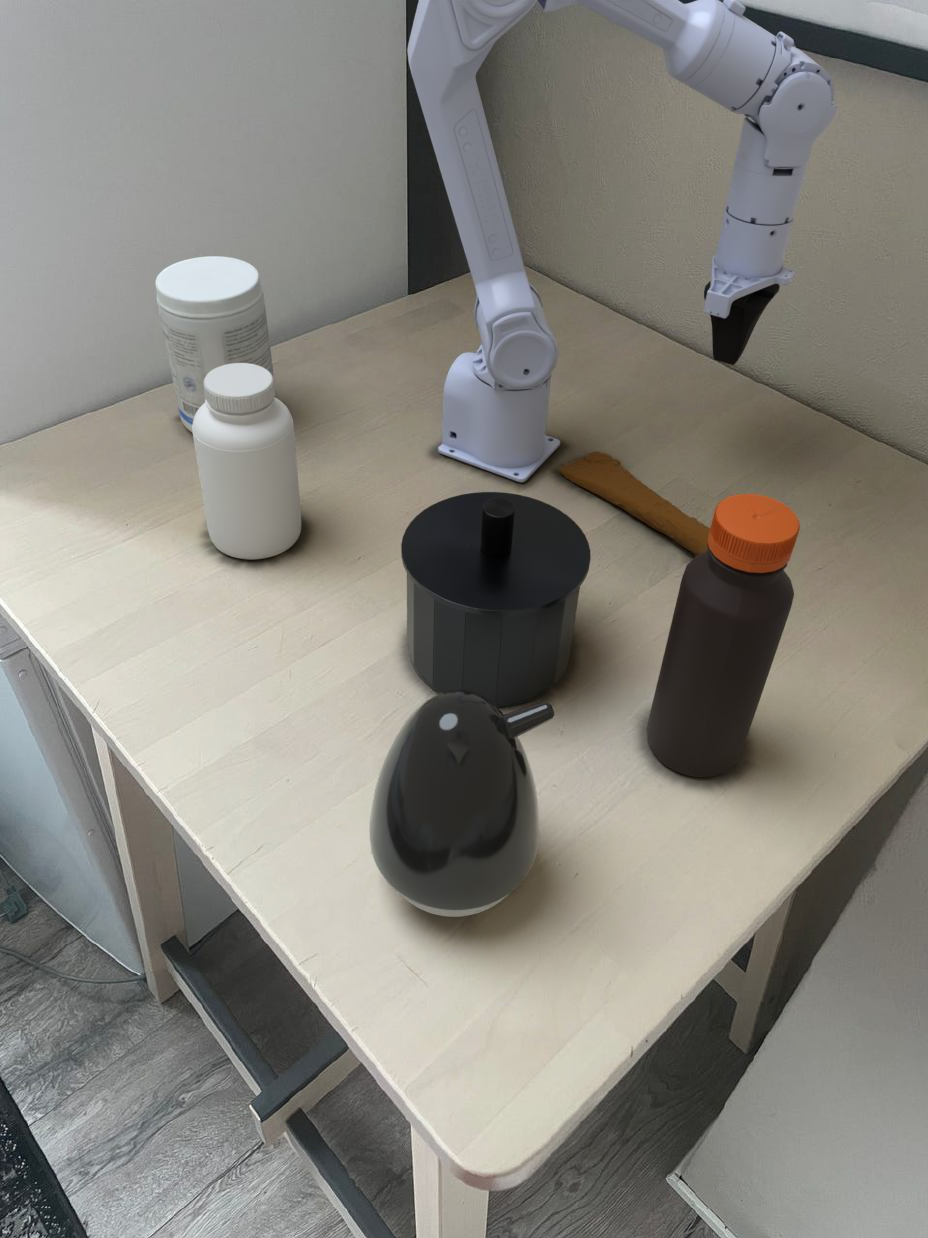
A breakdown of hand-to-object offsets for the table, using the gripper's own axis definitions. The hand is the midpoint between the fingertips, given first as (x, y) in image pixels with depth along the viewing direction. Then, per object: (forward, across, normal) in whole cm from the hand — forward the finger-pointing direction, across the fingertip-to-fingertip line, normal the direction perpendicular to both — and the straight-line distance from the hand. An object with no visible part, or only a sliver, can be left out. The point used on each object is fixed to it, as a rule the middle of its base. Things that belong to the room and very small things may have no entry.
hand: (725, 359), depth 95 cm
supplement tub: (+10, -22, +42) cm, 48 cm away
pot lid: (0, -36, +4) cm, 37 cm away
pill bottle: (+10, -35, +28) cm, 46 cm away
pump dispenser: (+10, -55, -4) cm, 56 cm away
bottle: (+10, -37, -13) cm, 40 cm away
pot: (+9, -36, +4) cm, 38 cm away
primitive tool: (+10, -14, +1) cm, 17 cm away
